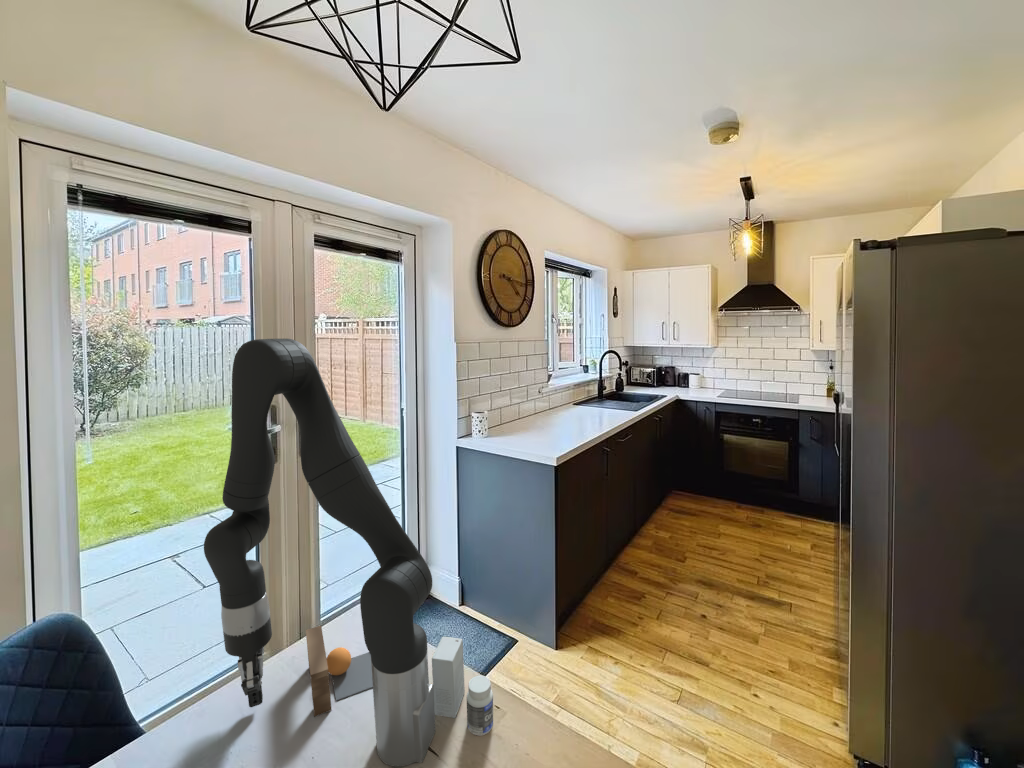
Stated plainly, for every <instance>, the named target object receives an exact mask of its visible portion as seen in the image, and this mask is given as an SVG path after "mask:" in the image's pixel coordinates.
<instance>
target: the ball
mask: <svg viewBox="0 0 1024 768" xmlns="http://www.w3.org/2000/svg"><path fill="white" fill-rule="evenodd" d="M351 658H352V655H351V653H350V651H349V649H347V648H346V647H342V646H340V647H335V648H334V649H332V650H331V651H330V652H329V654H327V655H326V659H327V665H328V673H329V675H331V676H332V675H335V676H337V675H341V674H343V673H344V672H346V671H347V669H348V668H349V666H350V664H351Z"/></svg>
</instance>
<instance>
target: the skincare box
mask: <svg viewBox="0 0 1024 768" xmlns="http://www.w3.org/2000/svg"><path fill="white" fill-rule="evenodd" d="M463 640H464V639H463V638H457V637H453V636H452V637H451V636H442V637H441V638H440V641H439V643H438V644H437V646H436V649H435V651H434V654H433V656H432V658H431V669H432V671H431V673H432V684H433V686H434V708H435V716H440V717H441V716H442V717H446V718H452V719H456V717H457V714H458V712H459V709H460V706H461V703H462V701H463V699H464V695H465V693H466V692H465V691H466V690H465V688H466V687H465V668H464V666H465V664H464V663H465V662H464V642H463Z"/></svg>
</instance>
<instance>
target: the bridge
mask: <svg viewBox="0 0 1024 768" xmlns="http://www.w3.org/2000/svg"><path fill="white" fill-rule="evenodd" d="M322 627H323V626H322V625H318V626H315V627H311V628H308V629H305V638H306V646H307V647H306V648H307V659H308V671H309V674H310V675H309V676H310V683H311V696H312V698H311V699H312V706H313V707H312V708H313V717H314V718H315V717H318V716H320V715H323V714H325V713H328V712H331V711H332V701H331V699H332V698H331V687H330V673H329V672H328V665H327V659H326V658H327V653H326V648H325V641H324V634H323V628H322Z"/></svg>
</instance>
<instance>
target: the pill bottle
mask: <svg viewBox="0 0 1024 768" xmlns="http://www.w3.org/2000/svg"><path fill="white" fill-rule="evenodd" d="M493 694H494V693H493V690H492V685H491V680H490V678H488V677H487V676H485V675H476V676H473V677H472V678H471V679H470V680H469V682H468V691H467V692H466V725H467V729H468V731H469V732H470V733H471V734H473V735H475V736H485V735H486V734H488V733H490V732H491V730H492V728H493V726H494V695H493Z"/></svg>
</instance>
